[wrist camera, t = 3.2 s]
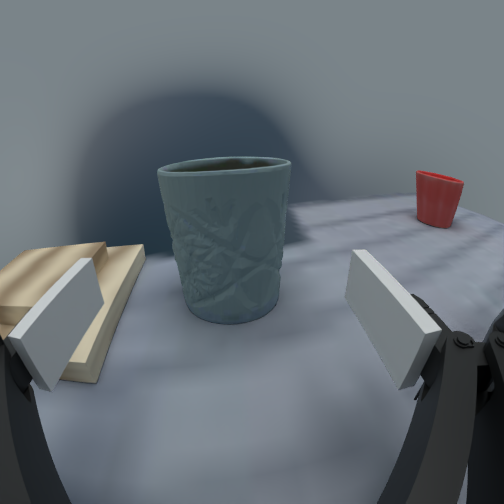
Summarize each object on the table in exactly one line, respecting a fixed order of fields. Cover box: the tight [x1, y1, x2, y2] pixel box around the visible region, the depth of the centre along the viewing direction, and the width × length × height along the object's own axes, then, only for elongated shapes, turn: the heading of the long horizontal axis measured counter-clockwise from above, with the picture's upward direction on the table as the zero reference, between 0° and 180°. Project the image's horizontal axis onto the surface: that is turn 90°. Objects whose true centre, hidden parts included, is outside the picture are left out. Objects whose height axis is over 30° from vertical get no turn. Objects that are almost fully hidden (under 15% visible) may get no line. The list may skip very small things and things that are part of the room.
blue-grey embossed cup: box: [157, 157, 291, 324], centre depth 23 cm, size 10×10×12 cm
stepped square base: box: [0, 242, 146, 383], centre depth 22 cm, size 20×20×4 cm
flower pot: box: [416, 171, 464, 228], centre depth 45 cm, size 11×11×10 cm
